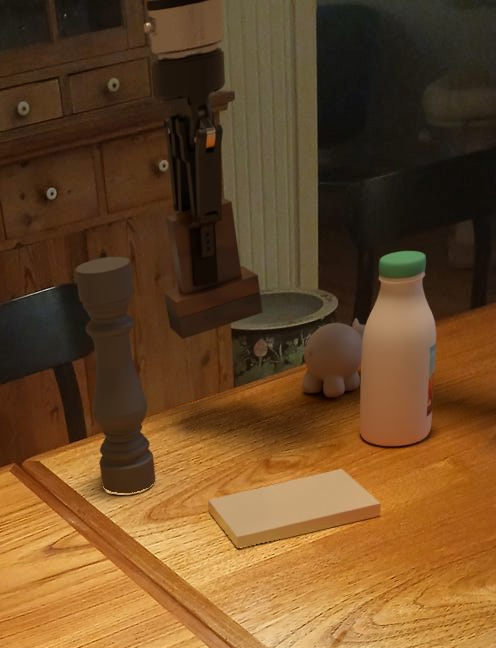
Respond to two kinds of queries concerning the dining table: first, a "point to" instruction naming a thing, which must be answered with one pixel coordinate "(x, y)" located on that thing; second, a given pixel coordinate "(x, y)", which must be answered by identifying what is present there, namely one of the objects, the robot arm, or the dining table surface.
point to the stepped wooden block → (213, 299)
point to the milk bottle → (398, 356)
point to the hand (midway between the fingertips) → (201, 280)
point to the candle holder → (116, 375)
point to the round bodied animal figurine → (333, 359)
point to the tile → (293, 508)
